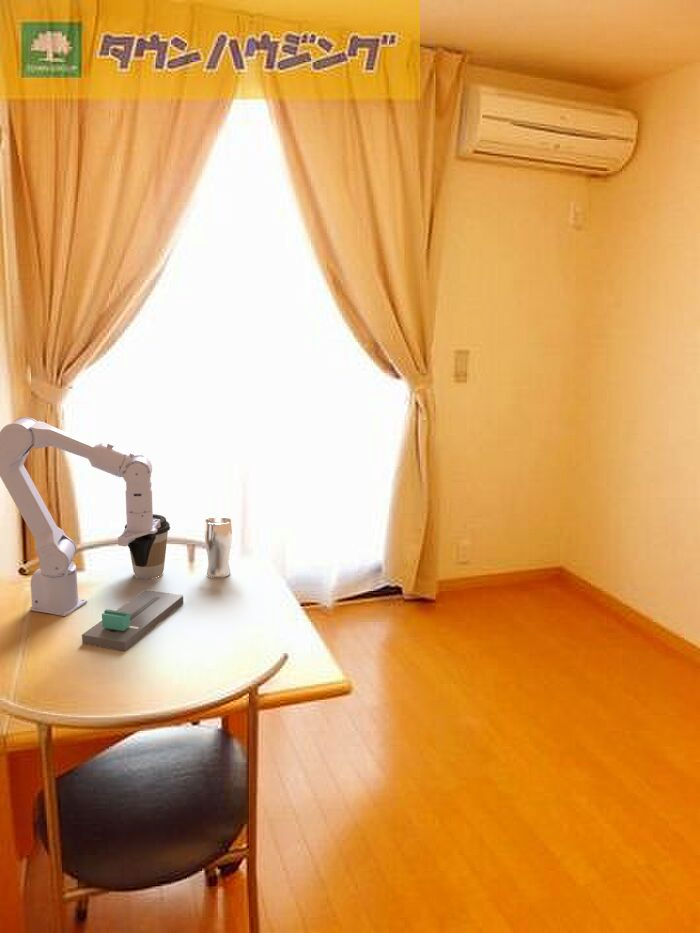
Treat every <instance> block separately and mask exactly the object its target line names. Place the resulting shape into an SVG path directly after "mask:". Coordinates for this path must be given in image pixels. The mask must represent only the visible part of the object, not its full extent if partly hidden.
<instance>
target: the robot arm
mask: <svg viewBox="0 0 700 933" xmlns="http://www.w3.org/2000/svg"><path fill="white" fill-rule="evenodd" d="M48 447H53V448H56V449H59V450H61V451H65V452H68V453H71V454H73V455H76V456H79V457H81V458H85V459H87V460H88V462H89V463H90V466H92V467H93V468H95V469H98V470H100V471H103V472H105V473H107V474H111V475H112V476H115V477H118V478H123V480H124V481H125V484H126V485H125V508H126V509H125V514H126V515H125V516H126V524H127V528H126V529H125V528H124V530H125V531H122V533H121V534H120V536H118V537H117V545H118V546H121V547H128V549H129V548H130V549H129V551H130V550H131V552H132V555H133V558H134V561H135V564H136V566H139V567H145V566H146V565H147V562H148V557H149V553H150V549H151V547H152V544H153V542H154V540H155V539H156V535H155V534H154V533H156V532H157V529H156V528H160V527H161V526H160V519H153V514H154V513H153V490H152V481H151V477H152V472H153V465H152V462H151V461H150V460H149V459H148V458H147V457H145V456H144V455H142V454H135V453H134V452H132V451H130V453H129V452H126V451H124V450H122V449H120V448H119V449H118V448H116V447H115V444H114V443H112V442H108V443H105V442H102V443H99V444H92V443H90V442H88V441H86V440H83V439H81V438H79V437H77V436H75V435H72V434H71V433H69V432H66V431H64V430H61V429H59V428H58V427H55V426H52V425H51V424H49V423H47V422H45V421H42V420H38V421H37V420H36V419H34V418H32V417H28V416H22V417H19V418H17V419H15V420H14V421H13V422H11V423H9V424H5V425H4V427H2V429H1V430H0V479H1V481H2V482H3V484H4V487H5V488H6V489H7V492H8V494H9V496H10V497H11V499H12V500H13V503H14V504H15V506H16V508H17V509H18V511H19V513H20V514H21V516H22V518H23V519H22V520H24V522H25V524H26V526H27V528H28V529H29V531H30V533H31V535H32V537H33V538H34V546H35V547H34V548H35V552H36V555H37V556H38V566H39V568H37V569H36V570H35V571H34V573H32V575H31V580H30V593H31V595H30V596H31V605H32V606H31V607H29V611H31V612H32V611H33V612H38V613H45V614H51V615H56V616H61V617H62V616H63V617H65V616H67V615H69V614H71V613H73V611H75V610H77V609H78V608H80V607H82V606H83V605H86V603H87V600H86V599H82V598H79V594H78V592H79V591H78V574H77V566H76V563H74V561H73V559H74V558H75V556H76V555H77V551H78V548H77V544H76V543H75V541H74V540H72V539H71V537H69V536H67V535H66V533H65V532H64V531H65V530H63V529H62V528H60V527H59V526H58V525H57V524H56V521H55V520H54V519H53V516H52V515H51V512H50V511H49V509H48V506H47V505H46V503H45V502H44V500H43V497H42V496H41V494H40V493H39V491H38V488H37V486H36V485H35V484H34V481H33V479H32V478H31V476H30V474H29V472H28V470H27V469H26V467H25V465H24V464H25V462H26V460H27V458H28V456H29V452H30V450H32V448H33V449H34V450H37V449H42V448H48Z"/></svg>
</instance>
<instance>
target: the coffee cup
mask: <svg viewBox="0 0 700 933" xmlns="http://www.w3.org/2000/svg"><path fill="white" fill-rule="evenodd" d="M153 519H160V526H161V527H160V528H156V529H157V532H156V533H154V534H155V535H156V539H155V540H154V542H153V544H152V547H151V549H150V553H149V557H148V562H147V565H146V566H145V567H139V566H136V564H135V561H134V558H133V555H132V552H131V550H130V548H129V547H128V549H129V554H130V560H131V564H132V570H133V574H134V576H135V578H137V579H140V580H141V579H142V580H152V578H153V579H157V578H159V577H161V576H162V575H163V574H162V573H164V570H165V563H166V551H167V543H168V541H167V540H168V533H169V531H170V529H171V526H170V523H169V522H168V521H167V518H166V516H163V515H160V514H157V513H153ZM126 528H127V523H126V524H125V525H124V529H123V530H124V531H125V529H126ZM124 531H123V532H124ZM161 574H162V575H161ZM160 575H161V576H160ZM158 576H159V577H158ZM156 577H157V578H156Z"/></svg>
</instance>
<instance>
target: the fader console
mask: <svg viewBox="0 0 700 933" xmlns="http://www.w3.org/2000/svg"><path fill="white" fill-rule="evenodd" d="M182 605H184V595H183V594H176V593H170V592H163V591H159V590H158V591H157V590H150V589H144V590H143V591H142V592H140V593H138V594H137V595H136V596H135V597H133V598H131V599H130V600H129V601H127V602H126V603H124V604H123V605H122V606H120V607H119V608H117V609H116V610H115V611H121V612H127V613H130V626H129V627H128V628H127V629H126V630H124V631H120V630H115V629H109V628H103V627H102V620H100V621H99V622H98V623H97V624H94V625H93V626H92V627H90V628H89V629H88V630H86V631H85V632H83V633H82V634H81V643H85V644H84V645H88V644H90V645H89V646H94V645H96V646H95V647H99V646H101V647H100V648H105V649H112V650H118V651H122V652H127V650H129V649H130V648H131V647H133V645H135V644H136V643H137V642H138V641H139V640H140V639H141V640H142V638H143V637H144V636H145V635H147V634H148V633H149V632H151V630H153V629H154V628H156V626H158V625H159V624H160V623H161V622H162V621H164V620H166V618H167V617H169V616H170V615H171V614H172V613H173V612H175V611H176V610H177V609H178V608H180V607H181V606H182Z"/></svg>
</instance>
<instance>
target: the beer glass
mask: <svg viewBox="0 0 700 933" xmlns="http://www.w3.org/2000/svg"><path fill="white" fill-rule="evenodd" d="M204 521H205V522H204V523H205V524H204V544H205V549H206V553H207V554H206V555H207V559H208V560H207V562H208V563H207V564H208V565H207V569H206V570H207V571H206V576H207V575H208V576H210V577H209V578H211V577H212V578H211V579H223V578H222V577H225V578H227V577H226V576H228V575H229V574H230V575H231V569H230V563H229V562H230V561H229V560H230V554H231V553H230V552H231V549H232V542H233V541H232V540H233V533H232V532H233V530H232V529H233V527H232V519H231V518H230V517H227V516H222V515H221V516H211V517H207V518H206V519H205V520H204ZM230 575H229V576H230ZM208 576H207V577H208ZM229 576H228V577H229Z"/></svg>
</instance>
